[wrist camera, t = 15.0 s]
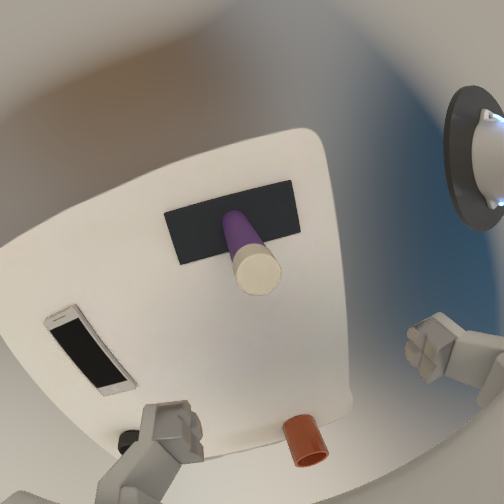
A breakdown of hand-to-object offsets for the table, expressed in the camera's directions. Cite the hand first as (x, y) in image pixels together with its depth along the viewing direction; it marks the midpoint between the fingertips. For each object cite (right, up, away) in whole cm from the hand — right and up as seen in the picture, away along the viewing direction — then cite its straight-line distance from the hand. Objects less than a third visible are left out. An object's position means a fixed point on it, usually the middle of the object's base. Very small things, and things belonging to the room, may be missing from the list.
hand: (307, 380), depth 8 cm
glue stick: (-4, +8, +21) cm, 22 cm away
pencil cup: (+7, -29, +36) cm, 46 cm away
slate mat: (-4, +8, +21) cm, 23 cm away
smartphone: (-25, -10, +24) cm, 36 cm away
